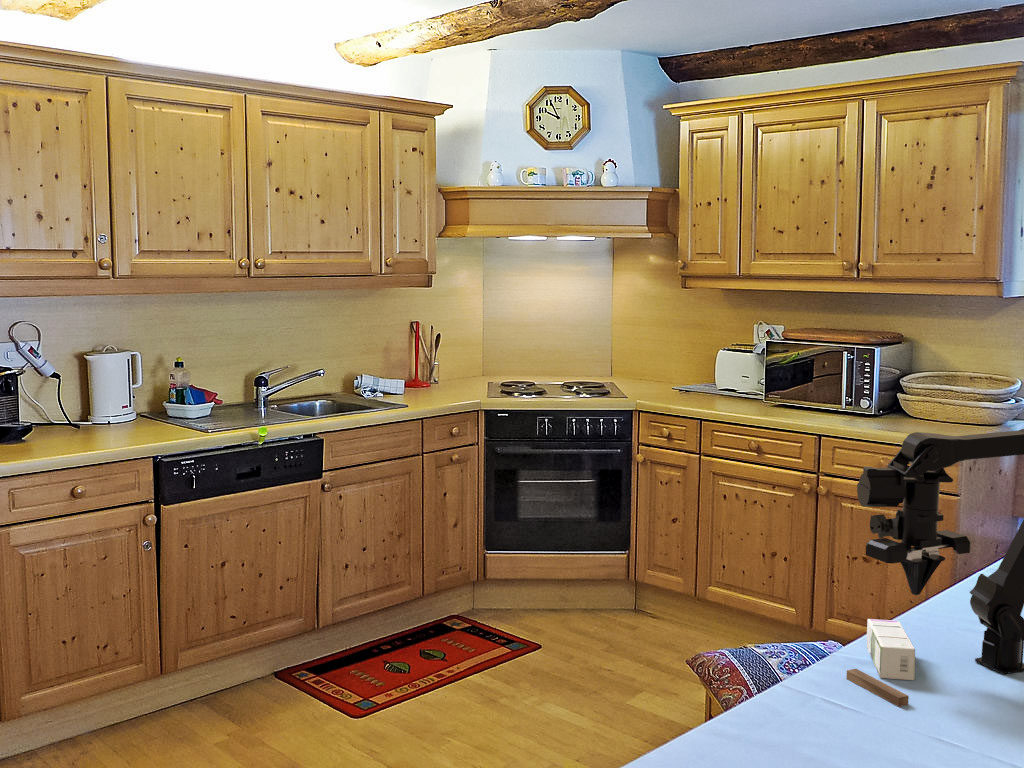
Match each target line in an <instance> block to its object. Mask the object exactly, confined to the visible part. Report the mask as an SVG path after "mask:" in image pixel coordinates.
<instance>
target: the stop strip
mask: <svg viewBox="0 0 1024 768" xmlns="http://www.w3.org/2000/svg"><path fill="white" fill-rule="evenodd" d="M845 677H846V680H848V681H850V682H852V683H853V684H855V685H857V686H859V687H861V688H863V689H865V690H866V691H868V692H870V693H872V694H874V695H875V696H878V697H879V698H881V699H884V700H885V701H887V702H888V703H890V704H892V705H894V706H896V707H898V708H900V707H903V706H909V700H910V699H909V696H910V695H909V694H906V693H904V692H902V691H900V690H898V689H896V688H895V687H893V686H891V685H888V684H887V683H885V682H884V681H883V682H882V681H881V680H879V679H877V678H875V677H873V676H871V675H870V674H867V673H866V672H864V671H862V670H860V669H858V668H853V669H847V670H846V676H845Z"/></svg>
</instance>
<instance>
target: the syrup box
mask: <svg viewBox="0 0 1024 768" xmlns="http://www.w3.org/2000/svg"><path fill="white" fill-rule="evenodd" d="M866 626H867V627H866V649H867V651H868V654H869V656H870V658H871V660H872V663H873V665H874V667H875V669H876V670H875V671H876V672H877V674H878V676H879V678H880V679H893V680H905V681H906V680H907V681H914V680H915V674H916V672H915V671H916V649H915V647H914V645H913V643H912V642H911V640H910V638H909V636H908V634H907V633H906V630H904V629H905V628H904V627H903V625H902V624H901V622H900V620H890V619H889V620H888V619H876V618H875V619H874V618H867V625H866Z"/></svg>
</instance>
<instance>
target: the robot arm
mask: <svg viewBox="0 0 1024 768" xmlns="http://www.w3.org/2000/svg"><path fill="white" fill-rule="evenodd" d="M1023 455H1024V428H1021V429H1019V430H1018V429H1017V430H1009V431H1008V430H1007V431H1000V432H999V431H997V432H988V433H987V432H986V433H977V434H964V435H947V434H940V433H934V432H933V433H931V432H923V431H922V432H921V431H920V432H919V431H917V432H913V433H909V434H908V435H907V436H906V437H905V438H904V440H903V441H902V443H901V448H900V449H899V451H898V452H897V453H896V454H895V456H893V458H892V459H891V461H890V462H889V463H888V464H887V465H886V467H873V466H863V467H862V468H863V470H862V474H861V475H860V476H859V478H858V479H859V480H858V482H857V484H856V491H857V492H856V493H857V494H856V495H857V499H858V502H859V505H860V506H861V507H862V508H863V507H864V508H869V507H870V508H873V507H875V508H877V507H880V508H882V507H883V508H885V507H886V508H887V507H888V508H893V507H894V508H897V507H898V506H899V505H900V504H902V508H901V509H897V511H896V512H895V517H892V518H886V516H885V514H875V515H870V520H869V529H870V532H871V534H877V537H878V538H875V539H870V540H868V541H867V543H865V554H864V555H865V556H867V557H870V558H872V559H874V560H878V561H880V562H882V563H885V564H898V563H900V564H901V566H902V569H903V571H904V573H905V576H906V580H907V583H908V587H909V588H910V593H911V594H912V595H914V596H920V594H922V591H923V590H924V589H925V587H926V585H927V583H928V582H929V580H930V579H931V577H932V575H933V574H934V573H935V571H936V570H937V569H938V567H939V566H940V564H941V563H942V562H944V561H946V557H945V556H943V555H940V551H939V550H940V549H941V550H942V549H946V548H947V549H948V548H952V550H953V551H954V553H955V554H957V555H963V554H970V553H971V551H970V550H971V541H970V540H969V538H968V536H967V535H964V534H961V533H958V532H954V531H952V530H951V531H950V530H949V529H945V530H938V524H939V523H938V522H944V514H943V513H939V505H940V504H939V502H940V490H941V489H940V488H941V487H940V486H941V483H953V482H954V479H953V478H952V477H951V476H950V475H949V474H948V473H947V472H946V470H945V468H950V467H952V466H954V465H956V464H958V463H959V462H960V463H961V462H964V461H970V460H981V459H989V458H991V459H992V458H1000V457H1003V458H1004V457H1012V456H1023ZM909 464H910V465H909ZM886 537H891V538H892V539H889V538H886ZM895 540H896V541H895ZM898 541H901V542H898ZM969 594H970V595H971V597H970V599H969V605H970V607H971V609H972V611H973V613H974V614H975V615H976V616H977V617H978V620H979V623H980V624H981V625H983V626H984V627H986V630H984V631H983V640H982V642H981V643H982V644H981V645H982V647H981V657H976V658H974V662H976V663H978V664H980V665H982V666H984V667H987V668H989V669H991V670H994V671H996V672H997V673H1000V674H1003V675H1009V674H1011V673H1013V674H1014V673H1018V672H1022V671H1024V662H1023V661H1024V660H1023V659H1024V617H1023V616H1022V611H1023V609H1024V519H1023V520H1022V521H1021V524H1020V525H1019V528H1018V529H1017V531H1016V533H1015V535H1014V537H1013V539H1012V541H1011V543H1010V545H1009V547H1008V548H1007V551H1006V552H1005V554H1004V556H1003V558H1002V560H1001V563H1000V564H999V566H998V568H997V569H996V570H995V571H994V572H993V573H991V574H990V575H988V576H987V575H985V574H984V573H980V574H979V575H978V577H977V579H976V583H975V585H974V587H973V588H972V589H971V590H970V591H969Z"/></svg>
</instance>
